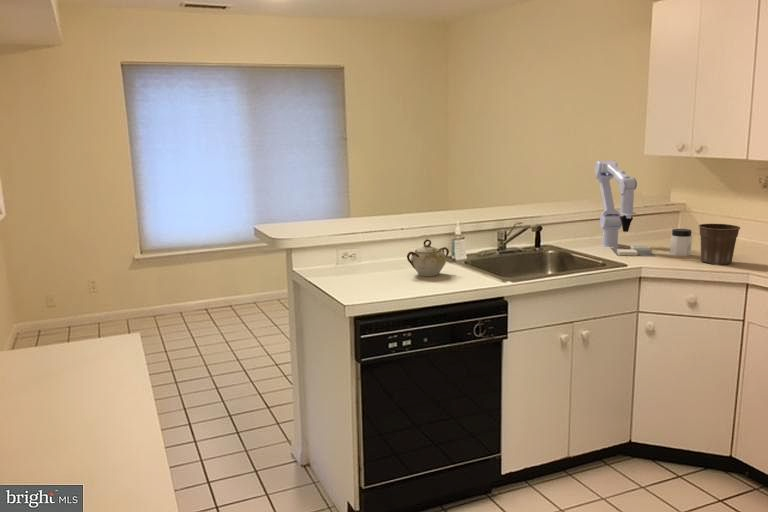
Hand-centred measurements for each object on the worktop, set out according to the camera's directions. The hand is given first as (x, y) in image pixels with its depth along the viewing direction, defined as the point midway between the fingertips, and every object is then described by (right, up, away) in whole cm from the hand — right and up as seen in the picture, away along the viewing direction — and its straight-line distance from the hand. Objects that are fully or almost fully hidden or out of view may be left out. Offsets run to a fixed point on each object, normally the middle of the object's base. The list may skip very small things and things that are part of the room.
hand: (625, 231), depth 308 cm
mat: (+3, -10, -2) cm, 11 cm away
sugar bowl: (-98, -20, -40) cm, 107 cm away
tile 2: (+8, -9, +3) cm, 12 cm away
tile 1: (-1, -9, -4) cm, 10 cm away
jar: (+22, -12, -9) cm, 27 cm away
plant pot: (+30, -15, -27) cm, 43 cm away
